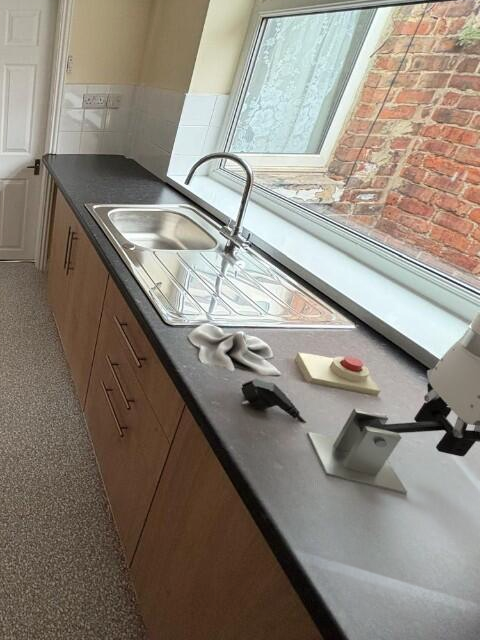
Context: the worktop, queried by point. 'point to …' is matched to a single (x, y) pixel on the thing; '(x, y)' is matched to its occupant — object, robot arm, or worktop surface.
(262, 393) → the power plug
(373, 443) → the lever mounting bracket
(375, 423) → the switch lever
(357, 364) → the button
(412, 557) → the worktop surface
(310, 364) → the control block
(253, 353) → the cloth
